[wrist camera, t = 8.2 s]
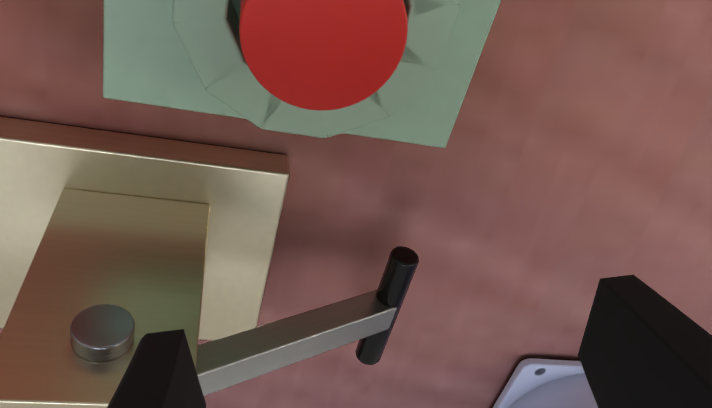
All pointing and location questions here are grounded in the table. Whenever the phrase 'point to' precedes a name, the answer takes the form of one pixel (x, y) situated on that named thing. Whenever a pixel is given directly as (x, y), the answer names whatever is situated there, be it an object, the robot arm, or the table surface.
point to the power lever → (311, 332)
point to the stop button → (322, 48)
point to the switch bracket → (123, 252)
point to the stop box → (253, 102)
